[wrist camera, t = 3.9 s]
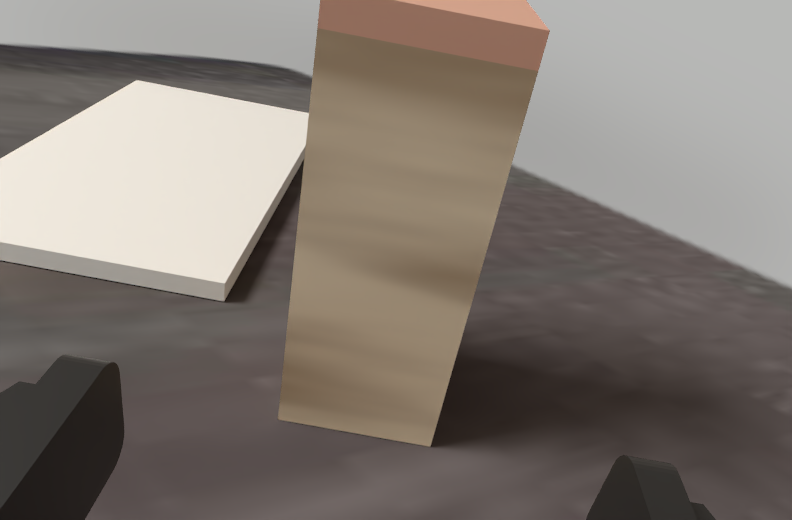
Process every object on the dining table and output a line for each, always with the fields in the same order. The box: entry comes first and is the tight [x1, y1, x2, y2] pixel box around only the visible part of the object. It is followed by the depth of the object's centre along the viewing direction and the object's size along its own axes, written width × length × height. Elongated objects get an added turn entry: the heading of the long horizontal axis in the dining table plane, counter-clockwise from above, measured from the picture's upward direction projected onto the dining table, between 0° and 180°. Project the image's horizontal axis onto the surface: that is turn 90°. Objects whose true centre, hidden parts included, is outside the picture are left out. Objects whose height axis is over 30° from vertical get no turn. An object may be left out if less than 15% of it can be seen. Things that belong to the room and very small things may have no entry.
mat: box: [0, 80, 309, 301], centre depth 31 cm, size 20×12×1 cm, turn 176°
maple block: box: [278, 0, 550, 447], centre depth 17 cm, size 5×5×12 cm
